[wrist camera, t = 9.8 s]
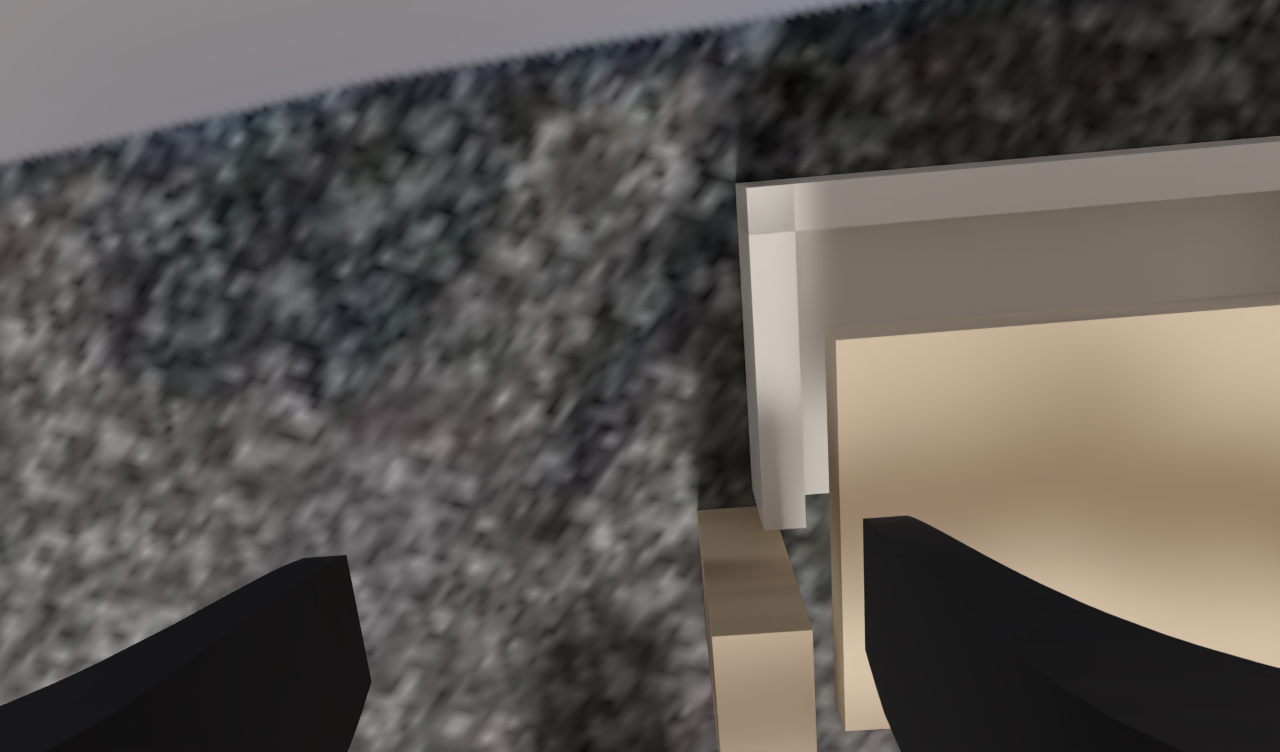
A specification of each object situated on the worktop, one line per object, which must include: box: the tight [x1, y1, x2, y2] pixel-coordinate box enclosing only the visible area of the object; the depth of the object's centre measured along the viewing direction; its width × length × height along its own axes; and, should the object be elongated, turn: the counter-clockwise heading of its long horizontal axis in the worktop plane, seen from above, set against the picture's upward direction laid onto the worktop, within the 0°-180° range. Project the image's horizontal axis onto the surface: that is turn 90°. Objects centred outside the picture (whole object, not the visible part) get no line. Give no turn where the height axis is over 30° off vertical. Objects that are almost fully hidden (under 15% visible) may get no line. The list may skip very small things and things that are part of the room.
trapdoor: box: [825, 292, 1280, 731], centre depth 17 cm, size 15×12×4 cm
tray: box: [735, 136, 1280, 531], centre depth 20 cm, size 14×8×2 cm, turn 95°
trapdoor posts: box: [697, 506, 817, 752], centre depth 20 cm, size 4×17×6 cm, turn 95°
